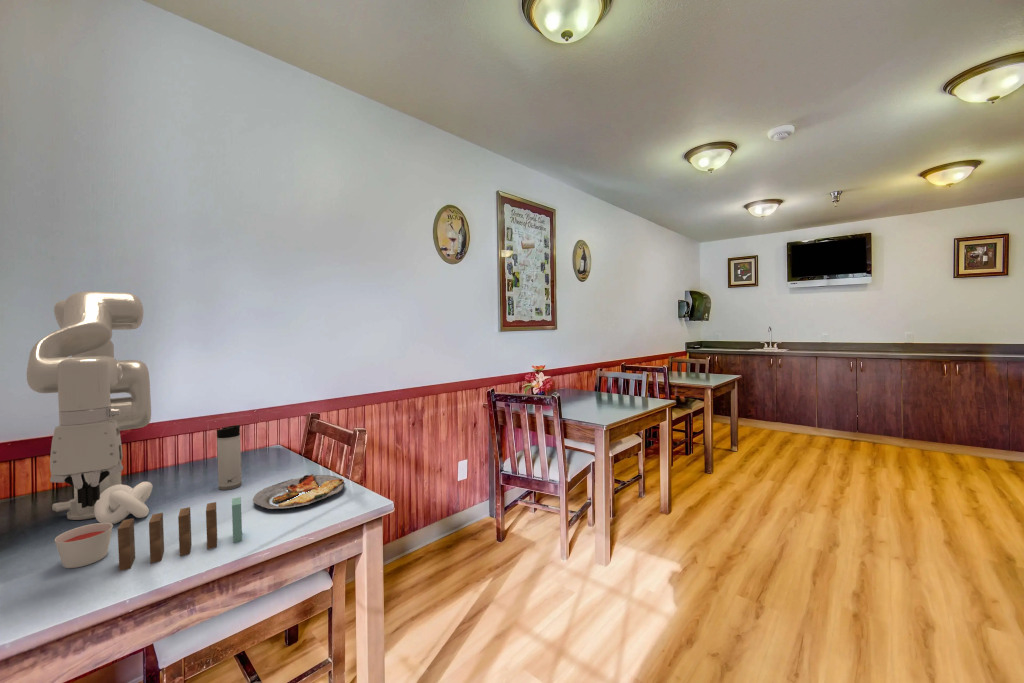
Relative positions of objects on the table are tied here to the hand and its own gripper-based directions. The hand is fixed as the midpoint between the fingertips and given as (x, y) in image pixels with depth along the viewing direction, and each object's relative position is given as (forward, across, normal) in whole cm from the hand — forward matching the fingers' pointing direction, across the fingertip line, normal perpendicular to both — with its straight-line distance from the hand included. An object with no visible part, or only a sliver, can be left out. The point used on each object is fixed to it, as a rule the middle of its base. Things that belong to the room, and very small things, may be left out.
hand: (89, 504), depth 86 cm
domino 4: (+15, -20, -1) cm, 25 cm away
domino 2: (+15, -10, -1) cm, 18 cm away
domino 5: (+15, -25, -1) cm, 29 cm away
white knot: (+14, -1, -31) cm, 34 cm away
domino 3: (+15, -15, -1) cm, 21 cm away
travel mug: (+14, -24, -43) cm, 51 cm away
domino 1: (+15, -5, -1) cm, 16 cm away
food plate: (+15, -42, -21) cm, 49 cm away
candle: (+15, +3, -9) cm, 17 cm away
